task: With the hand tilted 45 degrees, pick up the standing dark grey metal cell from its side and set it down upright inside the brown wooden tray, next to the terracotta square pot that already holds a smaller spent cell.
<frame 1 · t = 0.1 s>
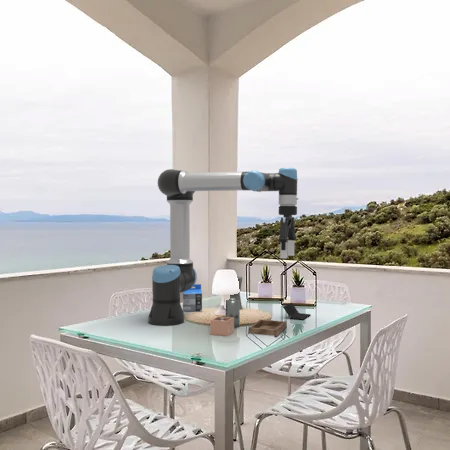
hand: (287, 257, 214), 28 cm above the table, tool pointing down, fingers open, 13 cm apart
handheld gaming console: (296, 318, 228), on the table
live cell: (232, 327, 208), on the table
coffeepot: (231, 308, 250), on the table
terracotta square pot: (222, 334, 197), on the table
label tape box: (192, 311, 242), on the table
spent cell: (222, 332, 197), point 1 cm above the table, touching terracotta square pot
brown wooden tray: (268, 331, 202), on the table
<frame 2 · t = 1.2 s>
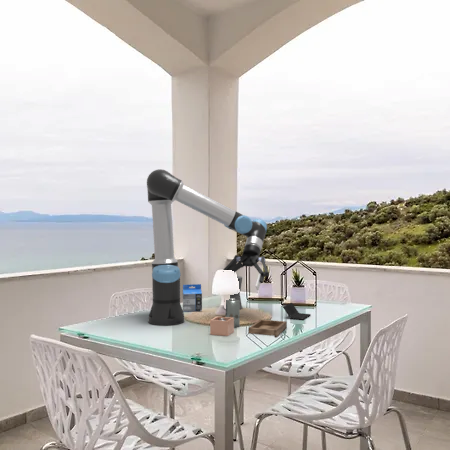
hand: (241, 287, 217), 15 cm above the table, tool tilted 45°, fingers open, 13 cm apart
nothing on the table moved.
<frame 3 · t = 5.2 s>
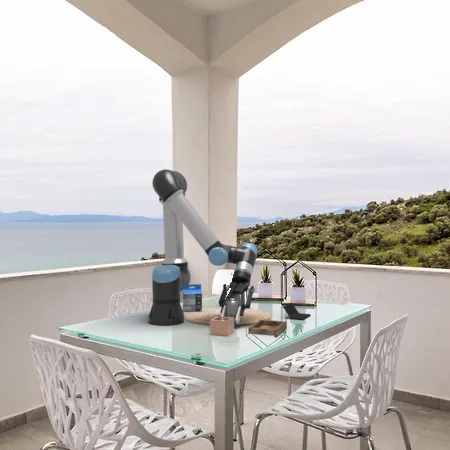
hand: (229, 321, 205), 3 cm above the table, tool tilted 45°, fingers closed on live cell, 5 cm apart
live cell: (232, 327, 208), on the table, touching gripper
everything else where it was.
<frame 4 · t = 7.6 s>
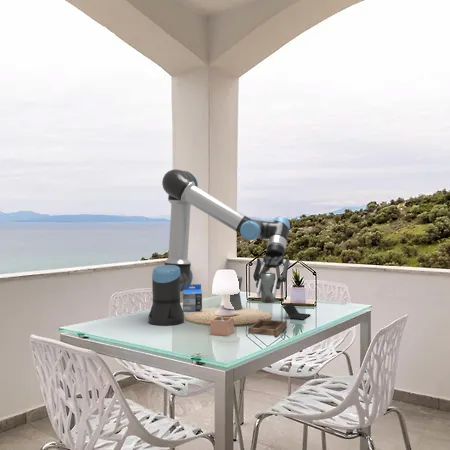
hand: (265, 294, 199), 15 cm above the table, tool tilted 45°, fingers closed on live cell, 5 cm apart
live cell: (268, 301, 203), point 11 cm above the table, touching gripper
everything else where it was.
when the fingers open (5 cm above the table, at t = 10.1 s): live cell drops 1 cm, resting on brown wooden tray.
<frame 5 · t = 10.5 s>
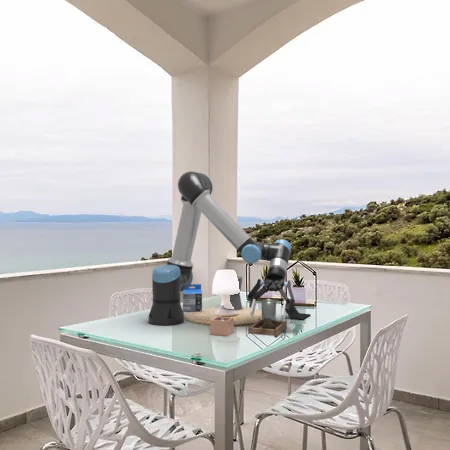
hand: (267, 315, 200), 6 cm above the table, tool tilted 45°, fingers open, 12 cm apart
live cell: (268, 329, 203), point 1 cm above the table, touching brown wooden tray
everything else where it was.
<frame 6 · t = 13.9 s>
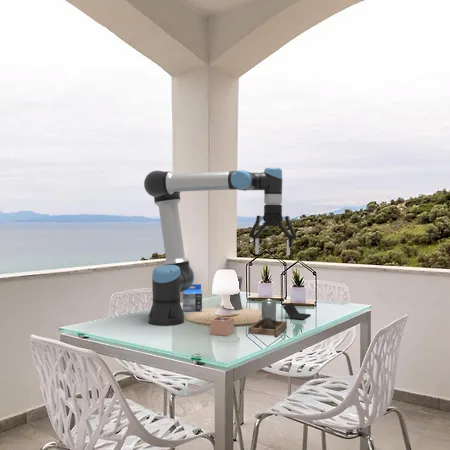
hand: (272, 254, 219), 28 cm above the table, tool pointing down, fingers open, 13 cm apart
nothing on the table moved.
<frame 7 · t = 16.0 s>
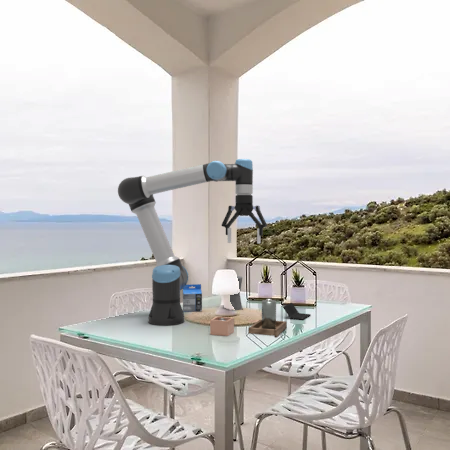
hand: (244, 243, 227), 33 cm above the table, tool pointing down, fingers open, 13 cm apart
nothing on the table moved.
at the end: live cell inside the target area on the brown wooden tray (1.0 cm from its centre), point 0.6 cm above the brown wooden tray's base; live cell tilted 0°; the gripper is holding nothing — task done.
